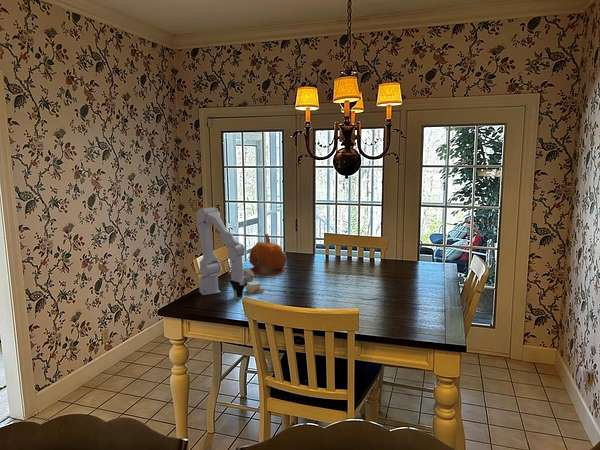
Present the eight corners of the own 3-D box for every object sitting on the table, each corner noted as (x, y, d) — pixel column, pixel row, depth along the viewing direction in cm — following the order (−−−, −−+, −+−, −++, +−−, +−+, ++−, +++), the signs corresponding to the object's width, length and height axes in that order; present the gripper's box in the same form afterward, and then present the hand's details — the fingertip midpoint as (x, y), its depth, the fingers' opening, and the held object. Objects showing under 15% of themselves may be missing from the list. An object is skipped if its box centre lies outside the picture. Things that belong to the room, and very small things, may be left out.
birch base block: (250, 295, 226) (250, 290, 225) (246, 291, 232) (245, 287, 232) (263, 293, 229) (263, 288, 228) (258, 289, 235) (258, 285, 235)
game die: (251, 288, 247) (261, 274, 248) (245, 287, 239) (256, 272, 240) (239, 279, 250) (249, 265, 251) (233, 278, 242) (243, 263, 243)
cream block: (250, 289, 227) (250, 285, 226) (247, 287, 232) (247, 282, 231) (260, 288, 229) (260, 283, 228) (257, 285, 234) (257, 281, 233)
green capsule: (235, 300, 217) (234, 292, 216) (232, 297, 221) (232, 290, 220) (243, 298, 219) (243, 291, 218) (241, 296, 222) (240, 288, 222)
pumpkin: (267, 263, 288) (266, 229, 285) (295, 270, 271) (294, 233, 268) (240, 270, 272) (239, 234, 269) (268, 278, 255) (267, 239, 252)
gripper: (249, 271, 212) (250, 298, 215) (240, 264, 225) (241, 290, 227) (235, 273, 209) (236, 300, 212) (226, 266, 222) (227, 292, 224)
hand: (238, 295), depth 219 cm, fingers closed on green capsule, 4 cm apart
